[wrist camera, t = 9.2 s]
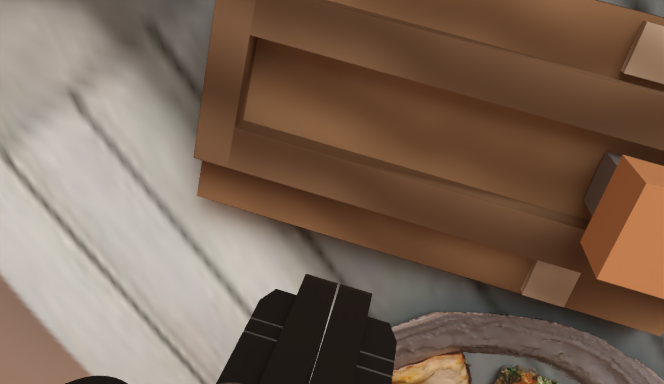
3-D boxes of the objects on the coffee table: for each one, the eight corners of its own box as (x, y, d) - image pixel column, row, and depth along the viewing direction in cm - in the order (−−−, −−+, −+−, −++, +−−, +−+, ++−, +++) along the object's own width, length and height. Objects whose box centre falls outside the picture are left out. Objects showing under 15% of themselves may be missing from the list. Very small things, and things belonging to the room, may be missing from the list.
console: (252, -91, 30) (228, -95, 26) (803, 54, 28) (849, 68, 24) (209, 183, 36) (186, 205, 33) (649, 315, 34) (669, 353, 31)
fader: (604, 132, 29) (646, 183, 22) (684, 154, 28) (749, 212, 22) (566, 211, 30) (596, 278, 24) (641, 233, 30) (690, 307, 24)
